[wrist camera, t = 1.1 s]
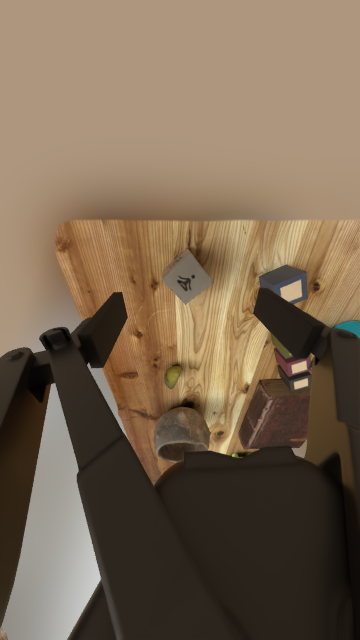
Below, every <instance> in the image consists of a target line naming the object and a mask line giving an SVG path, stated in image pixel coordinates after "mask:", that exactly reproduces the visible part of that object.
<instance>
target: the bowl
mask: <svg viewBox="0 0 360 640" xmlns="http://www.w3.org/2000/svg"><path fill="white" fill-rule="evenodd" d="M210 434H211V432H210V431H209V428H208V426H207V423H206V421H205V419H204V418H203V416H202V415H201V414H200V413H199V412H197V411H196V410H194V409H192V408H188V407H178V408H174V409H171V410H170V411H168V412H166V413H165V414H163V415H162V416H161V417H160V418H159V420H158V421H157V423H156V426H155V430H154V442H155V449H156V452H157V455H158V456H159V457H160V458H161V459H163V460H165V461H170V462H180V461H182V460H183V452H196V451H208V448H209V440H210Z"/></svg>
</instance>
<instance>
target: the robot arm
mask: <svg viewBox="0 0 360 640" xmlns="http://www.w3.org/2000/svg"><path fill="white" fill-rule="evenodd" d="M253 314H254V315H255V316H256V317H257V318H258V319H259V320H260V321H261V322H262V323H263V325H264V326H265V327H266V328H267V329H268V330H269V331H270V332H271V333H272V334H273V335H274V336H275V337H276V339H277V340H278V341H279V342H280V343H281V344H282V345H283V346H284V347H285V348H286V349H287V350H288V351H289V353H290V354H291V355H292V356H293V357H294V358H295V359H307V358H308V356H309V354H310V352H311V353H312V354H313V355H315V357H314V359H313V360H312V362H311V364H310V365H309V367H308V369H310V368H311V367H312V374H311V389H310V404H309V419H308V434H307V449H306V454H305V457H304V458H301V457H298V456H296V455H295V454H294V453H293V451H292V449H291V447H290V446H278V447H264V448H262V449H260V450H257V451H255V452H253V453H251V454H249V455H246V456H244V457H242V458H236V457H233V456H229V455H225V454H221V453H217V452H213V451H196V452H183V460H182V461H180V462H177V463H176V464H174V465H173V466H171V467H170V468H169V469H167V470H166V471H165V472H164V473H163V474H162V475H161V477H160V478H159V479H158V480H157V482H156V483H155V485H154V486H153V484H152V482H151V481H150V479H149V477H148V475H147V473H146V472H145V470H144V468H143V466H142V464H141V462H140V461H139V459H138V457H137V455H136V453H135V451H134V450H133V448H132V446H131V444H130V442H129V440H128V439H127V437H126V436H125V434H124V433H123V431H122V429H121V428H120V426H119V424H118V422H117V420H116V418H115V417H114V415H113V413H112V411H111V409H110V407H109V406H108V404H107V402H106V400H105V398H104V396H103V394H102V393H101V391H100V389H99V387H98V385H97V384H96V381H95V380H94V378H93V376H92V374H91V372H90V370H89V369H88V367H87V364H88V362H89V363H90V366H91V368H103V367H104V365H105V363H106V361H107V359H108V357H109V355H110V353H111V351H112V349H113V347H114V345H115V343H116V341H117V338H118V336H119V334H120V332H121V330H122V328H123V326H124V324H125V322H126V320H127V318H128V317H127V312H126V308H125V303H124V298H123V294H122V292H114V293H113V294H112V295H111V296H110V297H109V299H108V300H107V301H106V302H105V303H104V304H103V305H102V307H101V308H100V309H99V310H98V311H97V312H96V313H95V315H94V316H93V317H90V318H87V319H85V320H84V321H82V322H81V324H80V325H79V326H78V327H77V328H76V329H75V330H74V331H73V332H72V333H71V334H70V332H69V330H68V329H67V328H65V327H58V328H53V329H50V330H48V331H46V332H44V333H43V334H42V335H41V336H40V338H39V339H40V341H41V342H42V344H43V346H44V347H45V349H46V351H42V352H37V353H33V352H32V351H31V349H29V348H25V347H23V348H19V349H15V350H12V351H10V352H8V353H6V354H5V355H3V356H2V357H1V358H0V640H8V638H7V635H6V632H5V631H3V630H2V629H1V625H2V622H3V619H4V616H5V612H6V609H7V605H8V602H9V599H10V595H11V592H12V588H13V585H14V580H15V576H16V571H17V567H18V562H19V558H20V553H21V548H22V542H23V536H24V531H25V525H26V520H27V514H28V509H29V503H30V497H31V492H32V487H33V481H34V476H35V470H36V465H37V459H38V454H39V448H40V442H41V437H42V431H43V426H44V420H45V414H46V409H47V404H48V398H49V393H50V387H51V384H53V383H55V384H56V387H57V391H58V395H59V398H60V401H61V405H62V409H63V412H64V416H65V419H66V424H67V427H68V431H69V434H70V438H71V442H72V445H73V449H74V453H75V456H76V460H77V464H78V468H79V472H78V474H77V483H78V488H79V492H80V496H81V500H82V504H83V508H84V512H85V516H86V520H87V524H88V528H89V532H90V536H91V539H92V544H93V548H94V552H95V556H96V560H97V564H98V567H99V571H100V576H101V580H100V582H99V584H98V586H97V587H96V589H95V591H94V593H93V595H92V596H91V598H90V600H89V602H88V603H87V605H86V607H85V609H84V611H83V612H82V614H81V616H80V618H79V619H78V621H77V623H76V625H75V627H74V628H73V630H72V632H71V634H70V635H69V637H68V639H67V640H360V339H359V337H358V336H357V335H356V334H354V333H352V332H350V331H347V330H344V329H339V328H333V329H331V328H329V327H328V326H326V325H325V324H323V323H322V322H320V321H319V320H317V319H315V318H314V317H312V316H311V315H309V314H308V313H306V312H304V311H302V310H301V309H299V308H297V307H296V306H294V305H293V304H291V303H290V302H288V301H287V300H285V299H284V298H282V297H281V296H279V295H277V294H276V293H274V292H273V291H271V290H270V289H268V288H260V289H259V293H258V297H257V301H256V304H255V308H254V312H253Z"/></svg>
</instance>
